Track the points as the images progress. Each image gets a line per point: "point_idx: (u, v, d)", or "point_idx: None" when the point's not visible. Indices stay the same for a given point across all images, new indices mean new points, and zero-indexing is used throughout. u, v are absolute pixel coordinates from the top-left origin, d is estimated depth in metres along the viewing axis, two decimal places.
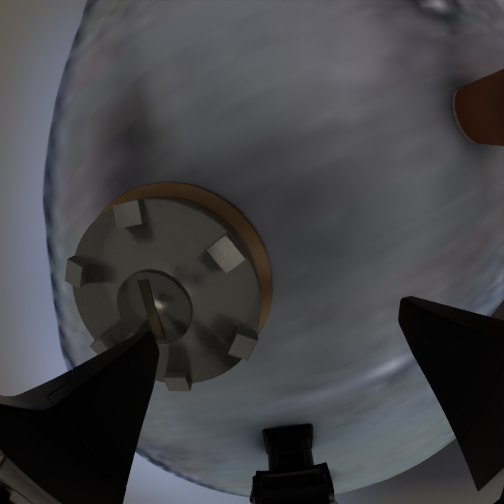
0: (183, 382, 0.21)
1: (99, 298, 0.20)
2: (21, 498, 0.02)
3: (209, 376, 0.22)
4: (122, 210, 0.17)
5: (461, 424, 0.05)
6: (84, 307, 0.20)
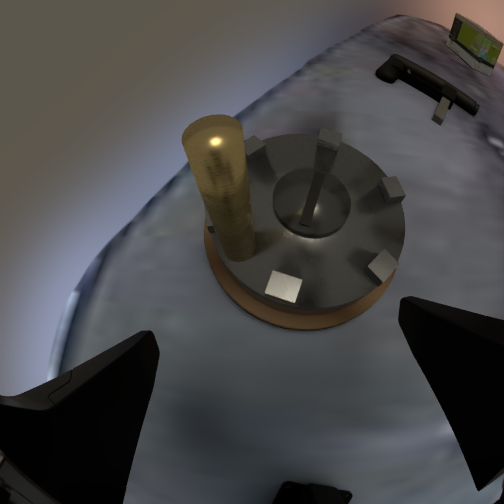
0: (295, 286, 0.17)
1: (254, 177, 0.22)
2: (21, 498, 0.02)
3: (322, 302, 0.18)
4: (328, 132, 0.22)
5: (461, 424, 0.05)
6: None
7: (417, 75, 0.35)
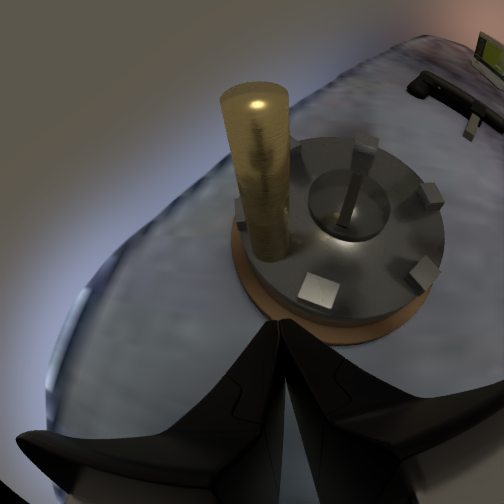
0: (331, 290, 0.15)
1: None
2: None
3: (360, 310, 0.15)
4: (364, 136, 0.21)
5: None
6: None
7: (447, 92, 0.34)
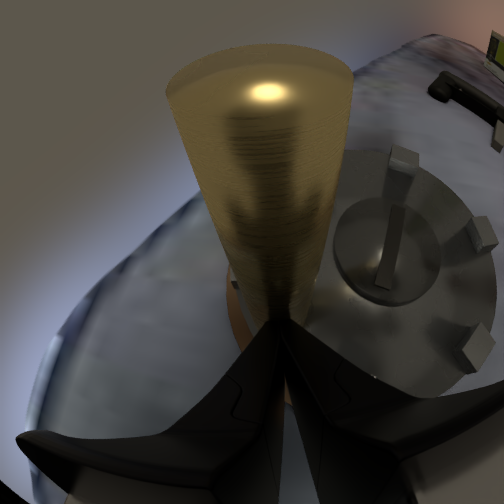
0: None
1: None
2: None
3: None
4: (402, 151, 0.15)
5: None
6: None
7: (469, 95, 0.28)
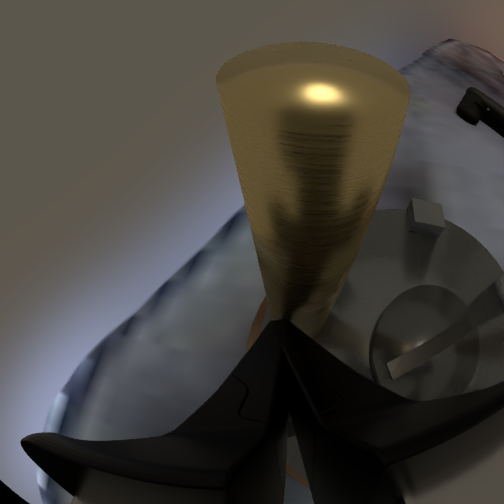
0: (292, 428, 0.09)
1: (399, 253, 0.13)
2: None
3: (301, 467, 0.09)
4: None
5: None
6: (370, 226, 0.14)
7: (497, 116, 0.24)
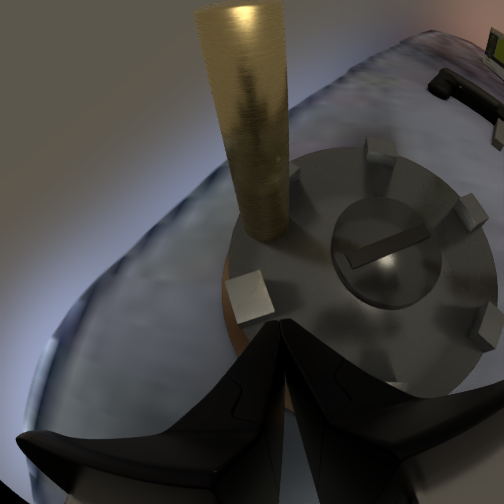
0: (259, 309, 0.11)
1: (355, 177, 0.15)
2: None
3: None
4: (474, 203, 0.12)
5: None
6: (330, 158, 0.16)
7: (469, 93, 0.27)
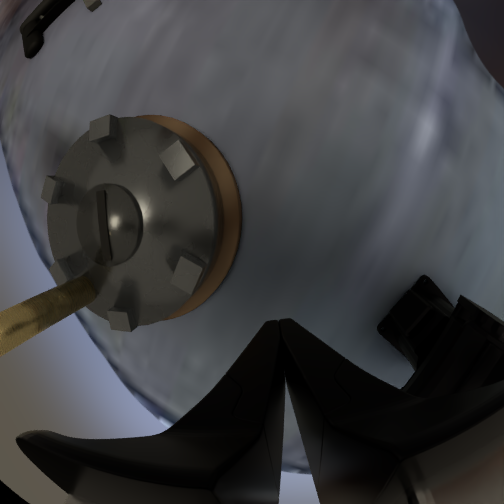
0: (125, 319, 0.18)
1: (66, 218, 0.19)
2: None
3: (154, 317, 0.19)
4: (96, 124, 0.16)
5: None
6: (53, 228, 0.19)
7: (48, 8, 0.18)
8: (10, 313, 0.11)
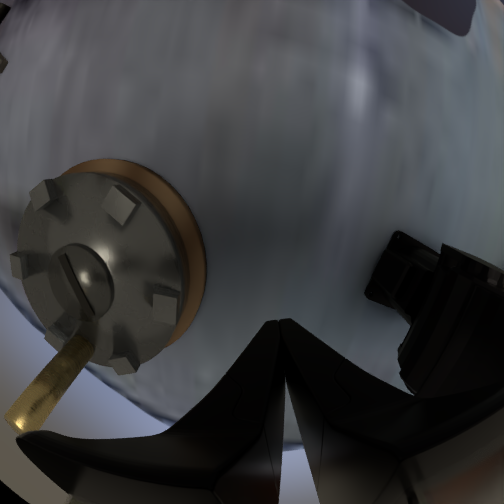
0: (126, 362, 0.18)
1: (41, 287, 0.18)
2: None
3: (152, 353, 0.19)
4: (35, 193, 0.15)
5: None
6: (33, 300, 0.18)
7: None
8: (26, 397, 0.11)
